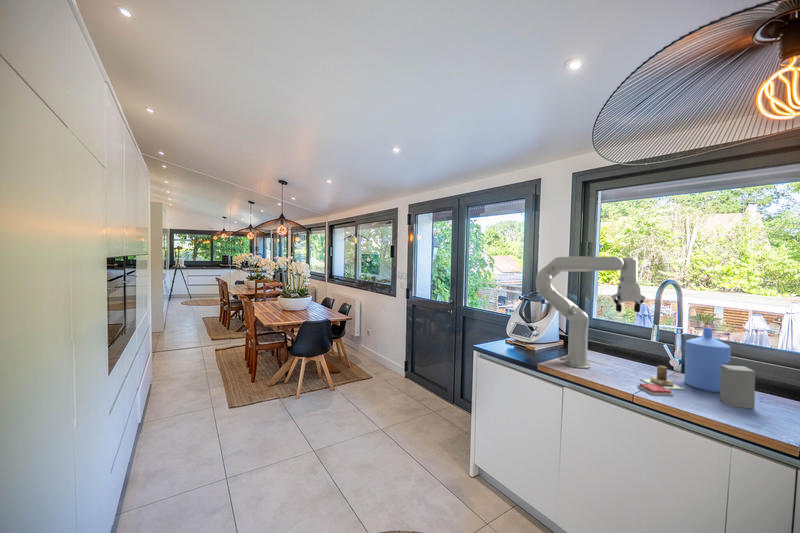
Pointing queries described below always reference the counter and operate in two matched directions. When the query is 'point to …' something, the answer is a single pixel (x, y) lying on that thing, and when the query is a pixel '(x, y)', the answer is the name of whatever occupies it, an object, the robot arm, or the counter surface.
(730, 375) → the skincare box
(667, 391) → the ink pad
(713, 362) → the water jug
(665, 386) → the marked square
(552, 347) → the counter surface
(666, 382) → the wooden stamp
